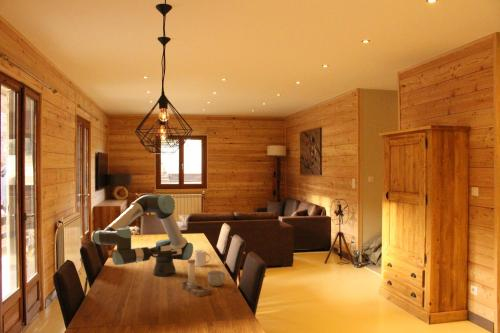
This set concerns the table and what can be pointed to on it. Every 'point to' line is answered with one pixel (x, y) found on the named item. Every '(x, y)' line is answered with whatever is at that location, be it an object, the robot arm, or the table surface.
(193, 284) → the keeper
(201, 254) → the mug
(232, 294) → the table surface
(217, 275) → the teacup
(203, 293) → the track
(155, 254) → the robot arm
